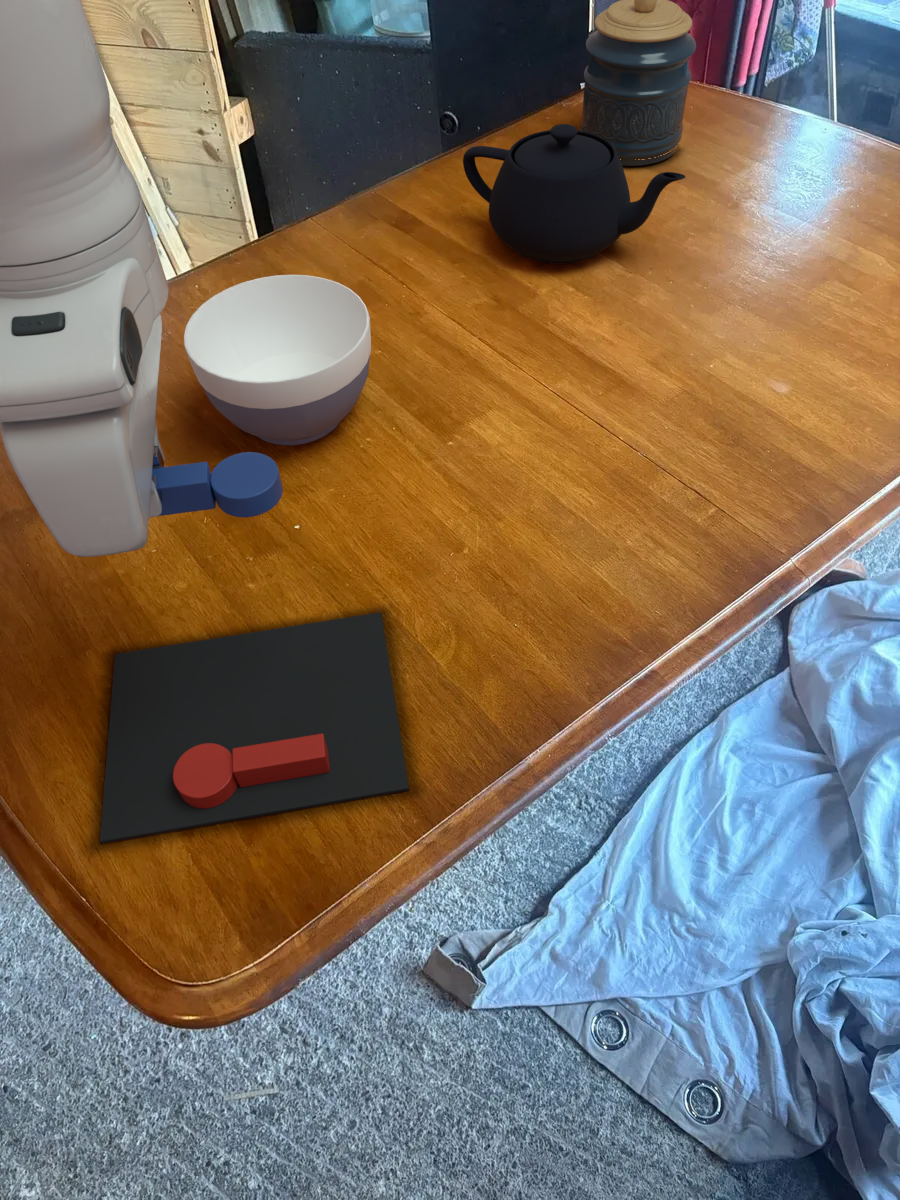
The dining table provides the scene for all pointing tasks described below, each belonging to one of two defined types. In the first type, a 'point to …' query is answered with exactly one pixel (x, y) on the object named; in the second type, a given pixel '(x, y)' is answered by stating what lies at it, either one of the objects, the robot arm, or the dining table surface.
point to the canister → (638, 78)
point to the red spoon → (245, 767)
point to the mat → (251, 721)
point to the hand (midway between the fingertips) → (149, 490)
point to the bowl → (282, 355)
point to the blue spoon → (221, 486)
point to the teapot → (561, 195)
